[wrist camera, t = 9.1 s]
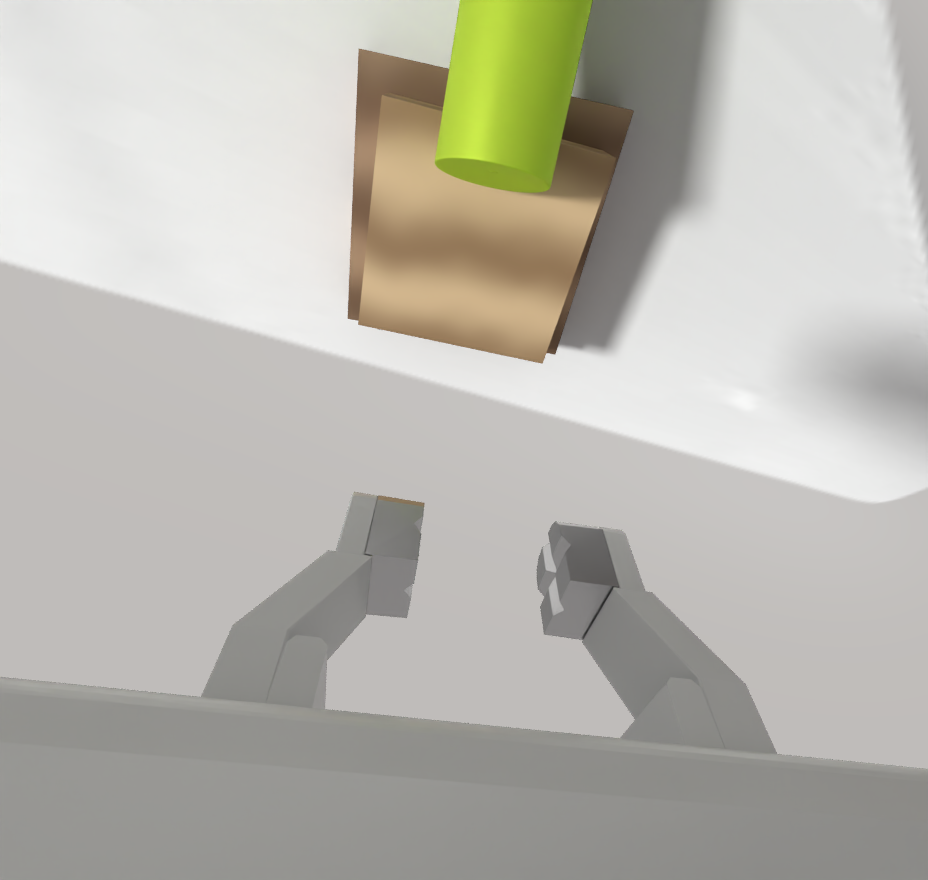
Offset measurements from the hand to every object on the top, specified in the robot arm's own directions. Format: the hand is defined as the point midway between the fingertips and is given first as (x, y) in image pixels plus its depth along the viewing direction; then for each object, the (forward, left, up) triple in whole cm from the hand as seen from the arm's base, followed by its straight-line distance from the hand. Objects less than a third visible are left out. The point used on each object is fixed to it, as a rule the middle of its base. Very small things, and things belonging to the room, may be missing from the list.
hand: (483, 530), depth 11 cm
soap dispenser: (-4, 0, -21) cm, 21 cm away
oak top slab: (+1, 0, -27) cm, 27 cm away
